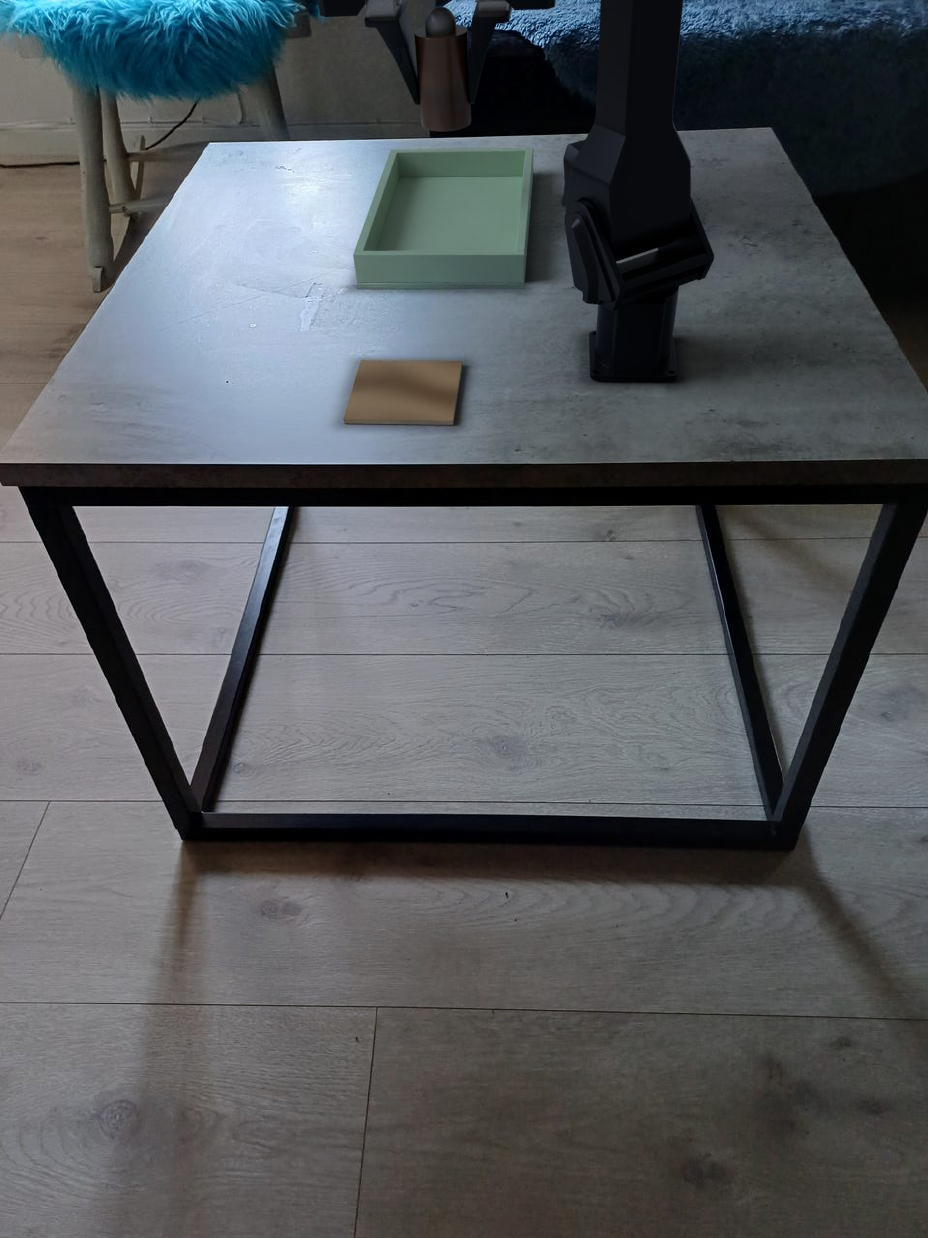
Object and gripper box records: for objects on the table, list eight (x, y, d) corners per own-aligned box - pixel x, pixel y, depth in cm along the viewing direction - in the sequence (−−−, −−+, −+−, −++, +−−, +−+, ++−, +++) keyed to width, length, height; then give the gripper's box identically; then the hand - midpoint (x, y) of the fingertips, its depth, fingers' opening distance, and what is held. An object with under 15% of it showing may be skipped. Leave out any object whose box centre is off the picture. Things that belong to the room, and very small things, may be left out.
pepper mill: (469, 130, 80) (463, 12, 74) (418, 132, 80) (408, 14, 74) (473, 113, 83) (468, -2, 77) (424, 114, 83) (415, 0, 77)
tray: (524, 289, 80) (524, 254, 78) (357, 288, 82) (352, 254, 80) (533, 178, 97) (533, 147, 94) (393, 180, 98) (390, 148, 96)
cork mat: (453, 425, 67) (453, 420, 67) (343, 423, 68) (342, 418, 67) (462, 364, 73) (462, 360, 72) (361, 364, 73) (360, 359, 73)
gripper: (560, -150, 74) (556, 70, 85) (329, -138, 76) (355, 76, 87) (556, -127, 66) (553, 112, 77) (300, -115, 68) (332, 117, 79)
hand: (445, 102), depth 81 cm, fingers closed on pepper mill, 4 cm apart
